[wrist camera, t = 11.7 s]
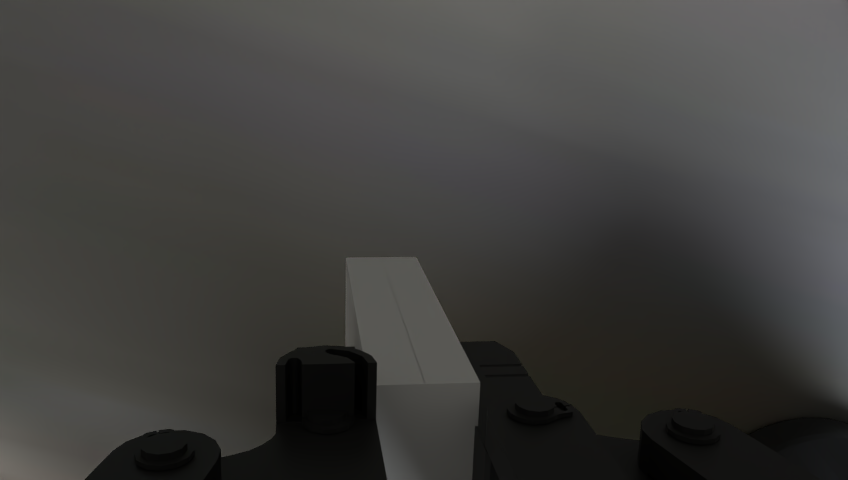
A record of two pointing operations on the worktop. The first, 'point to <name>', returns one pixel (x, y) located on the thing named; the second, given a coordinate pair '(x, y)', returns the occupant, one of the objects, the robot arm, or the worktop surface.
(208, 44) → the worktop surface
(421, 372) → the robot arm
